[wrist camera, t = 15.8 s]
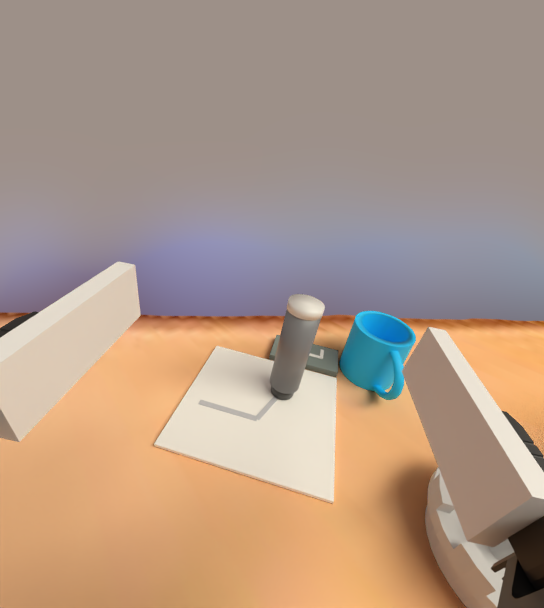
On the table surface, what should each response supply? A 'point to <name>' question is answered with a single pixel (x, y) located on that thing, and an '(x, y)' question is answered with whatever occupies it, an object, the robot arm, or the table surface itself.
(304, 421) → the paper
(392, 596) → the table surface
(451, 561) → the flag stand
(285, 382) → the marker
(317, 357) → the dark grey flat block
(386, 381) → the mug
